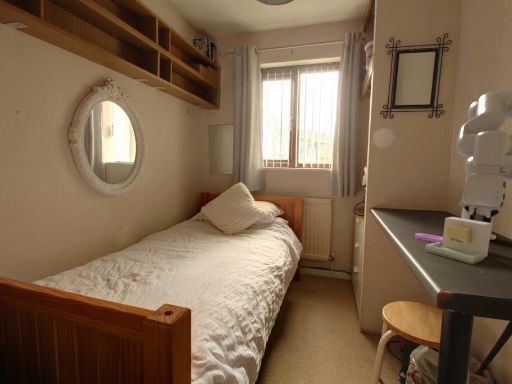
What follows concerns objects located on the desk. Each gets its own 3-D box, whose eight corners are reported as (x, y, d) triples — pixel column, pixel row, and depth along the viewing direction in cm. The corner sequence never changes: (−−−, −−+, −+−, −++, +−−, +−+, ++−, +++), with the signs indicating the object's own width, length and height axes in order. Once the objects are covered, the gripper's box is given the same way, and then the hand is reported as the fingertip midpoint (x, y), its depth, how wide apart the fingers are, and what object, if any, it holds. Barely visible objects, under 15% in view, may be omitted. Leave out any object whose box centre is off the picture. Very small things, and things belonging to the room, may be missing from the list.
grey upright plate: (474, 235, 89) (477, 213, 88) (483, 237, 87) (486, 215, 86) (457, 240, 82) (459, 216, 81) (466, 242, 80) (469, 217, 79)
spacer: (451, 238, 83) (452, 224, 82) (471, 241, 79) (472, 227, 78) (447, 240, 81) (447, 227, 80) (467, 244, 77) (467, 230, 76)
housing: (449, 246, 88) (452, 216, 87) (487, 256, 80) (491, 223, 79) (441, 248, 85) (445, 217, 84) (480, 258, 77) (484, 224, 76)
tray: (437, 247, 86) (438, 241, 86) (484, 260, 76) (485, 253, 76) (424, 251, 82) (425, 244, 82) (471, 264, 72) (472, 257, 72)
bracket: (459, 244, 93) (462, 224, 92) (456, 247, 89) (459, 226, 88) (417, 235, 102) (419, 217, 101) (412, 238, 98) (414, 219, 97)
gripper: (525, 172, 80) (516, 233, 82) (462, 170, 93) (455, 222, 95) (516, 172, 76) (507, 235, 78) (451, 169, 90) (445, 223, 92)
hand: (479, 227), depth 87 cm, fingers closed on grey upright plate, 2 cm apart
